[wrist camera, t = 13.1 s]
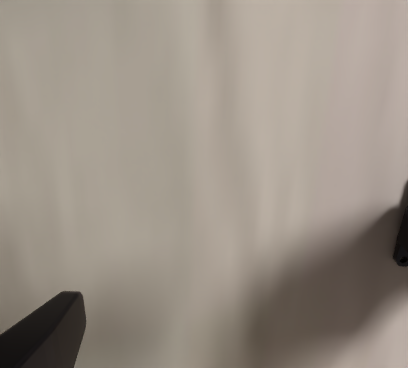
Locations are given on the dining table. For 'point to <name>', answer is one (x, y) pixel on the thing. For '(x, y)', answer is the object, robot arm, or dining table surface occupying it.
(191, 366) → the dining table surface
